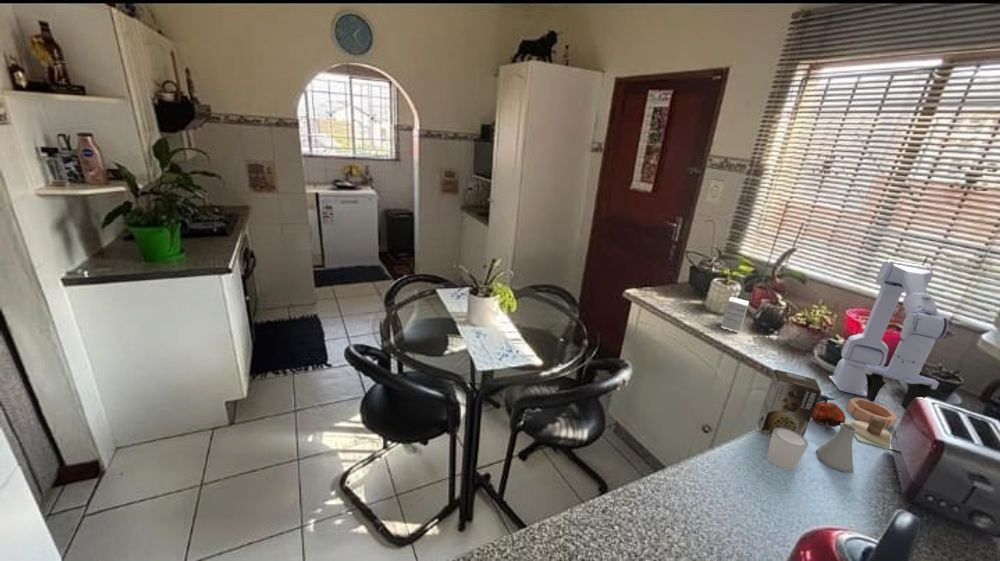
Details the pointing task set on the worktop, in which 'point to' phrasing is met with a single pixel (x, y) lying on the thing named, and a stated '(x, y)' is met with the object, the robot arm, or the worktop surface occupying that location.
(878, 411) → the dish
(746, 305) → the supplement box
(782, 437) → the white cylinder
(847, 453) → the flask
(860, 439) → the mat
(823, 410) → the pomegranate
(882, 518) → the worktop surface
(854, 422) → the lid
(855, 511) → the worktop surface
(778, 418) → the coffee box
